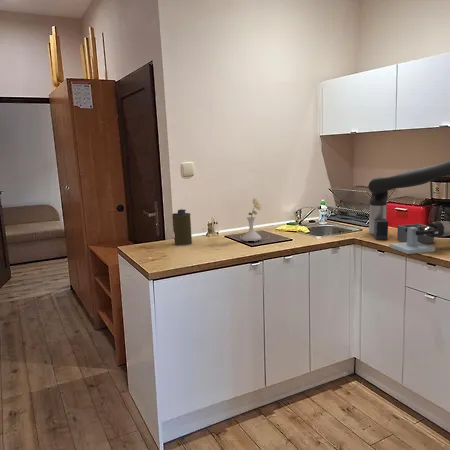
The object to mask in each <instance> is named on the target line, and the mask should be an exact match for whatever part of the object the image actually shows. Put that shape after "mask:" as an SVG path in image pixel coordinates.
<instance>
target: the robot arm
mask: <svg viewBox="0 0 450 450" xmlns="http://www.w3.org/2000/svg"><path fill="white" fill-rule="evenodd" d="M448 176H449V177H450V160H447V161H444V162H441V163H438V164H432V165H428V166H425V167H418V168H414V169H410V170H406V171H403V172H400V173H398V174H395V175H394V174H393V175H391V176H386V177H380V176H379V177H375V178H372V179H371V180H370V181H369V183H368V187H367V188H368V190H369V192H371V197H370V200H369V217H368V218H369V219H368V233H369V234H371V235H374V219H386V220H387V201H388V197H389V191H390V190H395V189H404V188H411V187H418V186H422V185H426V184H428V183H430V182H432V181H433V180H436V179H438V178H439V179H440V178H442V177H443V178H444V177H448ZM411 227H415V228H418V231H416V235H427V236H431V237H434V238H439V237H447V236H450V221H448V220H447V221H445V220H444V221H433V222H429V223H428V225H426V226H421V225H420V226H411ZM405 232H407V228H405Z"/></svg>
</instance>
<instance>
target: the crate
mask: <svg viewBox="0 0 450 450" xmlns="http://www.w3.org/2000/svg"><path fill="white" fill-rule="evenodd" d="M420 225H421V226H427V225H426V224H421V223H412V224H401V225H398V224H397V232H396V233H397V241H401V242H402V243H404V242H407V232H405V228H407V227H411V226H420ZM417 242H419V243H422V244H432V243H435V237H431V236H427V235H418V239H417Z"/></svg>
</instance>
